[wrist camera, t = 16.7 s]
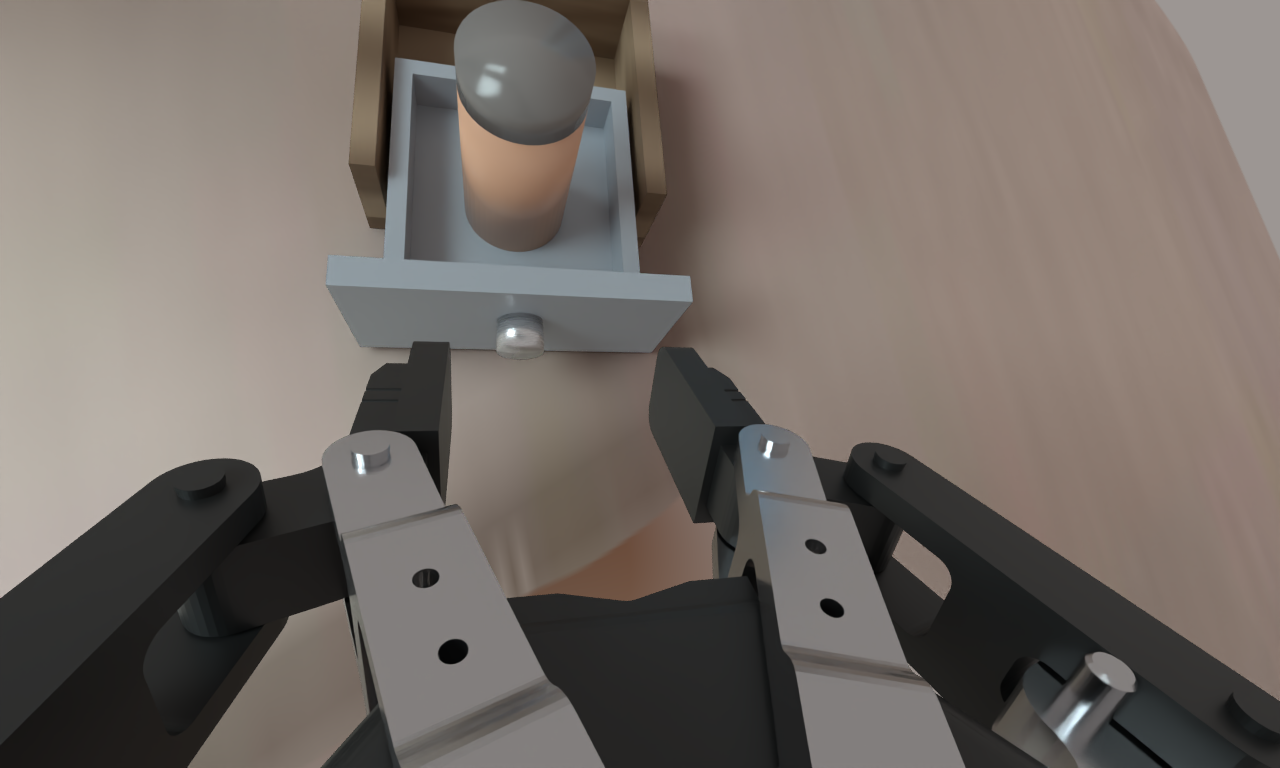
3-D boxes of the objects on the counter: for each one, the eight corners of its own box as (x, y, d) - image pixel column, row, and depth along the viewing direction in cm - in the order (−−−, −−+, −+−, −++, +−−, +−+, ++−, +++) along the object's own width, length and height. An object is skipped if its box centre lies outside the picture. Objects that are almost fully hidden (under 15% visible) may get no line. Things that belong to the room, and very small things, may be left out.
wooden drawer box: (640, 246, 32) (667, 194, 28) (369, 227, 29) (348, 163, 24) (625, 62, 36) (646, -12, 31) (383, 23, 32) (367, -67, 28)
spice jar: (465, 250, 27) (455, 109, 18) (463, 162, 28) (452, -10, 20) (566, 253, 29) (601, 122, 20) (559, 169, 30) (590, 10, 21)
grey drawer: (653, 378, 30) (696, 332, 24) (358, 375, 26) (322, 321, 20) (633, 141, 34) (666, 53, 28) (376, 110, 30) (350, -1, 24)
